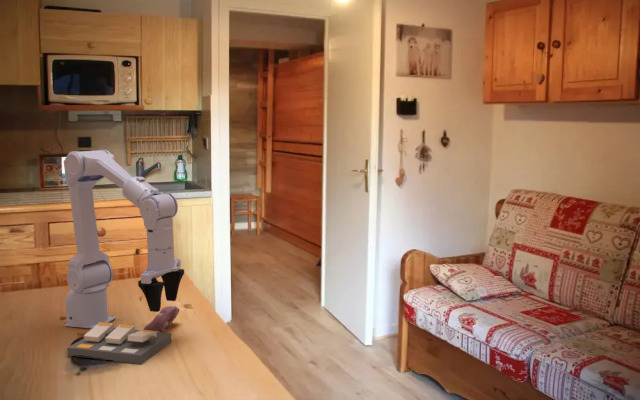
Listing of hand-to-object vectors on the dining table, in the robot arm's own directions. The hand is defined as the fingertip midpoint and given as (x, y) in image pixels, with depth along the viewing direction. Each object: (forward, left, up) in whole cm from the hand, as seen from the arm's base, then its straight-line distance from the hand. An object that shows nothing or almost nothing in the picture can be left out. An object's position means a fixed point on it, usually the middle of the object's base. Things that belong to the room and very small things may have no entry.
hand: (163, 305), depth 131 cm
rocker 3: (-3, -5, -6) cm, 8 cm away
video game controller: (-5, +8, -10) cm, 14 cm away
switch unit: (-8, -5, -9) cm, 13 cm away
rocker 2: (-8, -5, -6) cm, 11 cm away
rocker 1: (-14, -5, -6) cm, 16 cm away
